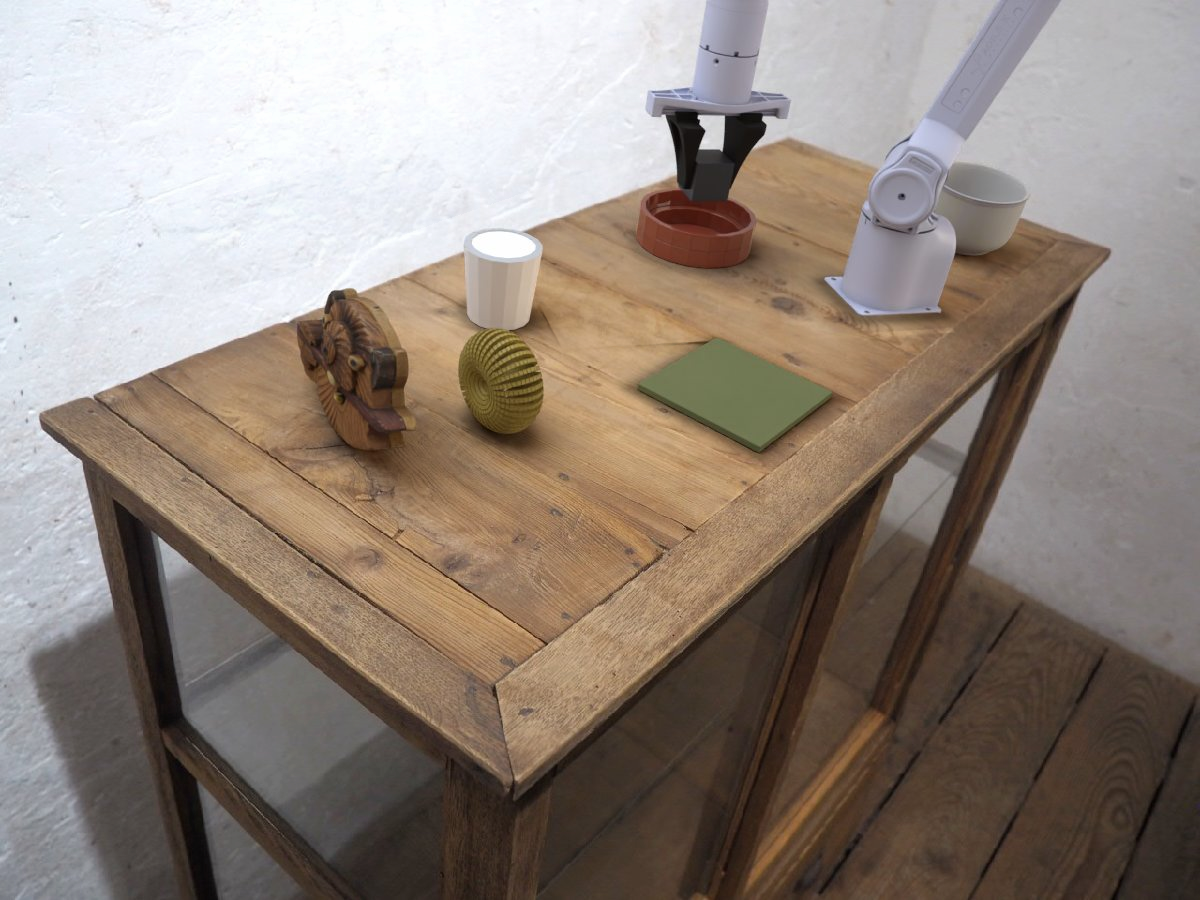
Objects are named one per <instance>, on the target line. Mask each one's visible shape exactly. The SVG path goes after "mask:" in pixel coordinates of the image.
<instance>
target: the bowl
mask: <svg viewBox="0 0 1200 900" xmlns="http://www.w3.org/2000/svg"><path fill="white" fill-rule="evenodd" d="M757 223H758V221H757V218H756V214H755V212H753V211H752V210H751V209H750V208H749V206H747V205H745V204H744V203H742V202H740V201H738V200H736V199H734V198H732V197H729V196H728V200H727V201H707V202H692V201H691V200H690V199H689V198H688V197H687V196H686V195H685V194H684V193H683V191H682V190H681V189H680V188H679V187H668V188H662V189H656V190H653V191H651V192H649V193H646V194H645V195H644V196H643V197H642V198H641V199H640V201H639V207H638V213H637V221H636V226H635V240H636V241H637V242H638V244H639V245H640V247H641V248H643V249H644V250H646V251H648V252H649V253H650V254H651V255H653V256H655V257H658V258H660V259H662V260H665V261H667V262H670V263H675V264H677V265H678V264H679V265H682V266H686V267H693V268H701V269H715V268H716V269H717V268H718V269H720V268H727V267H732V266H736V265H738V264H741V263H742V262H744V261H745V260H747V258H748V257H749V255H750V253H751V249H752V247H753V246H752V245H753V241H754V237H755V233H756V229H757V228H756V227H757Z"/></svg>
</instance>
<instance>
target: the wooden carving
mask: <svg viewBox="0 0 1200 900" xmlns="http://www.w3.org/2000/svg"><path fill="white" fill-rule="evenodd" d="M296 339H297V346H298V349H299V352H300V354H299V357H300V360H301V363H302V365H303V369H304V373H305V375H306V376H307V378H308V379H309V380H310V381H312V382H313V383H314V384H317V386H318V387H317V395H318V398H319V401H320V405H321V406H322V409H323V411H324V414H325V415H326V418H327V419H328V421H329V423H330V425H331V426H332V428H334V430H335V432H336V433H337V434H338V436H339V437H341V438H342V440H344V442H345V443H346V444H348V445H349V446H351V447H352V448H355V449H358V450H362V451H378V450H384V449H388V450H394V449H403V448H405V445H406V442H405V439H404V434H403V432H414V431H416V430H417V421H416V418H415V415H414V414H413V413H412V411H410V409H409V408H408V407H407V406H406V399H405V397H406V396H405V386H406V384H407V382H408V378H409V370H410V369H409V368H410V367H409V357H408V352H407V350H406V349H405V348H403V347H402V345H401V342H400V339H399V337H398V334H397V332H396V330H395V329H394V326H393V325H392V323H391V322H390V319H389V317H388V316H387V313H386V311H384V309H383V308H382V307H381V306H380V305H378V304H377V302H376V301H374V299H371V298H368V297H365V296H359V293H358V291H357V290H356V289H355V288H353V287H349V288H343V289H333V290H332V291H330V293H329V294H328V296H327V299H326V303H325V305H324V311H323V316H322V317H317V318H316V319H308V320H298V322H297V323H296Z"/></svg>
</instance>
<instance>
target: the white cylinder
mask: <svg viewBox="0 0 1200 900" xmlns="http://www.w3.org/2000/svg"><path fill="white" fill-rule="evenodd" d="M543 249H544V246H543V244H542V243H541V242H540V240H539V239H538V238H536V237H534V236H532V235H531V234H529V233H526V232H524V231H519V230H516V229H512V228H501V227H494V228H482V229H480V230H475V231H472V232H471V233H470V234H468V235H467V236H465V238H464V241H463V257H464V275H465V277H464V279H465V295H466V296H465V297H466V314H467V317H468V319H469V320H470V321H471V322H472V323H474V324H475V325H477V326H478V327H481V328H484V329H489V328H498V329H499V328H500V329H505V330H508V331H515V330H517V329H520V328H523V327H525V326H526V325H527V324H528V323H529V322H530V318H531V312H532V307H533V304H534V303H533V302H534V297H535V292H536V287H537V281H538V277H539V270H540V266H541V261H542V255H543Z"/></svg>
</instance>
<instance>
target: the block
mask: <svg viewBox="0 0 1200 900" xmlns="http://www.w3.org/2000/svg"><path fill="white" fill-rule="evenodd" d="M722 151H723V150H721V149H717V148H716V149H715V148H711V149H710V148H709V149H708V148H707V149H705V148H699V150H698V154H697V157H696V162H695V168H694V175H693V179H692V183H691V186H690V189H683V188H682V187H681V186H680V185H679V184H678V183H677V188H680V189H681V190H682V191H683V193H684V194H685V195H686V196H687V197H688V198H689V199H690V200H691V201H692V202H707V201H727V200H728V197H729V194H730V190H731V189H730V185H731V180H732V175H733V170H734V165H735V164H734V163H733V162H732V161H731V160H730V159H729V158H728V157H727V156H726V155H725V154H724V153H723V152H722Z"/></svg>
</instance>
